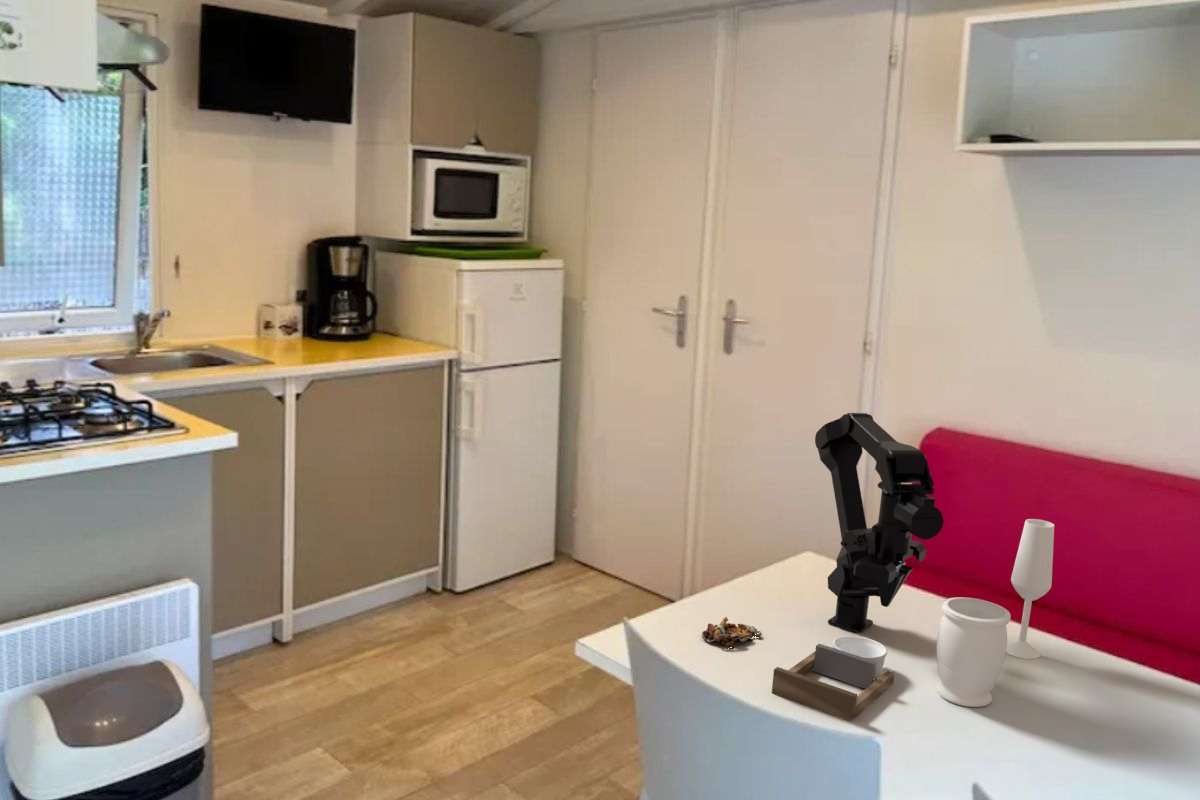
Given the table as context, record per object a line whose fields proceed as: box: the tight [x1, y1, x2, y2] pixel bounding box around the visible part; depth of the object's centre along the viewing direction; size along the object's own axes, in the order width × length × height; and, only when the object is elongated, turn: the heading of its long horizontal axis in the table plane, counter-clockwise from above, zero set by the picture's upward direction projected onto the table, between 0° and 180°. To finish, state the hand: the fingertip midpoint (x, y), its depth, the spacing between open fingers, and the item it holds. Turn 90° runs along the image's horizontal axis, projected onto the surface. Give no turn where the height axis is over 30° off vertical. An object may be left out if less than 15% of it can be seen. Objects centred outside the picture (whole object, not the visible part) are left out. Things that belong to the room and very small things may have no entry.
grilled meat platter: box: [700, 616, 762, 652], centre depth 185 cm, size 7×12×4 cm, turn 134°
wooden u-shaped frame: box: [771, 651, 896, 722], centre depth 168 cm, size 17×13×4 cm
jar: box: [936, 596, 1012, 708], centre depth 167 cm, size 11×10×15 cm
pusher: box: [812, 643, 876, 690], centre depth 171 cm, size 2×10×4 cm, turn 54°
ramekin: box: [832, 635, 888, 679], centre depth 175 cm, size 9×9×4 cm
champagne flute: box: [1006, 518, 1055, 660], centre depth 186 cm, size 7×7×24 cm
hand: (885, 605), depth 182 cm, fingers closed
